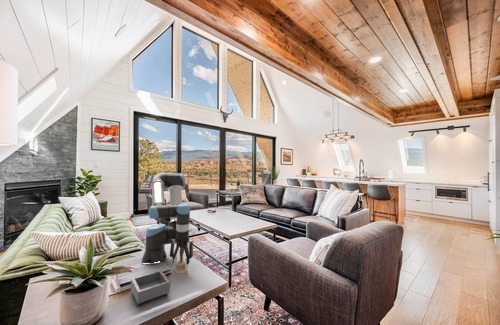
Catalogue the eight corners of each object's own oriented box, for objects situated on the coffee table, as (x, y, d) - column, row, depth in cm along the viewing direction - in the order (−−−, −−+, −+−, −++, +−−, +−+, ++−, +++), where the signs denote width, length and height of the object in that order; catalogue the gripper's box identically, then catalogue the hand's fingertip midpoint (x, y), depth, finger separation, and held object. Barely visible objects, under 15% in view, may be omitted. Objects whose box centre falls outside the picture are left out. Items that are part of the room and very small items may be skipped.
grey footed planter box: (130, 292, 102) (131, 278, 102) (160, 283, 111) (160, 270, 112) (137, 308, 92) (138, 292, 92) (169, 296, 101) (170, 281, 101)
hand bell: (172, 270, 127) (173, 244, 128) (186, 268, 131) (187, 242, 131) (174, 277, 120) (175, 249, 120) (189, 274, 124) (190, 247, 124)
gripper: (164, 231, 123) (162, 270, 123) (195, 233, 121) (194, 273, 121) (170, 227, 130) (168, 264, 130) (200, 229, 129) (198, 267, 129)
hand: (180, 268), depth 126 cm, fingers closed on hand bell, 6 cm apart
